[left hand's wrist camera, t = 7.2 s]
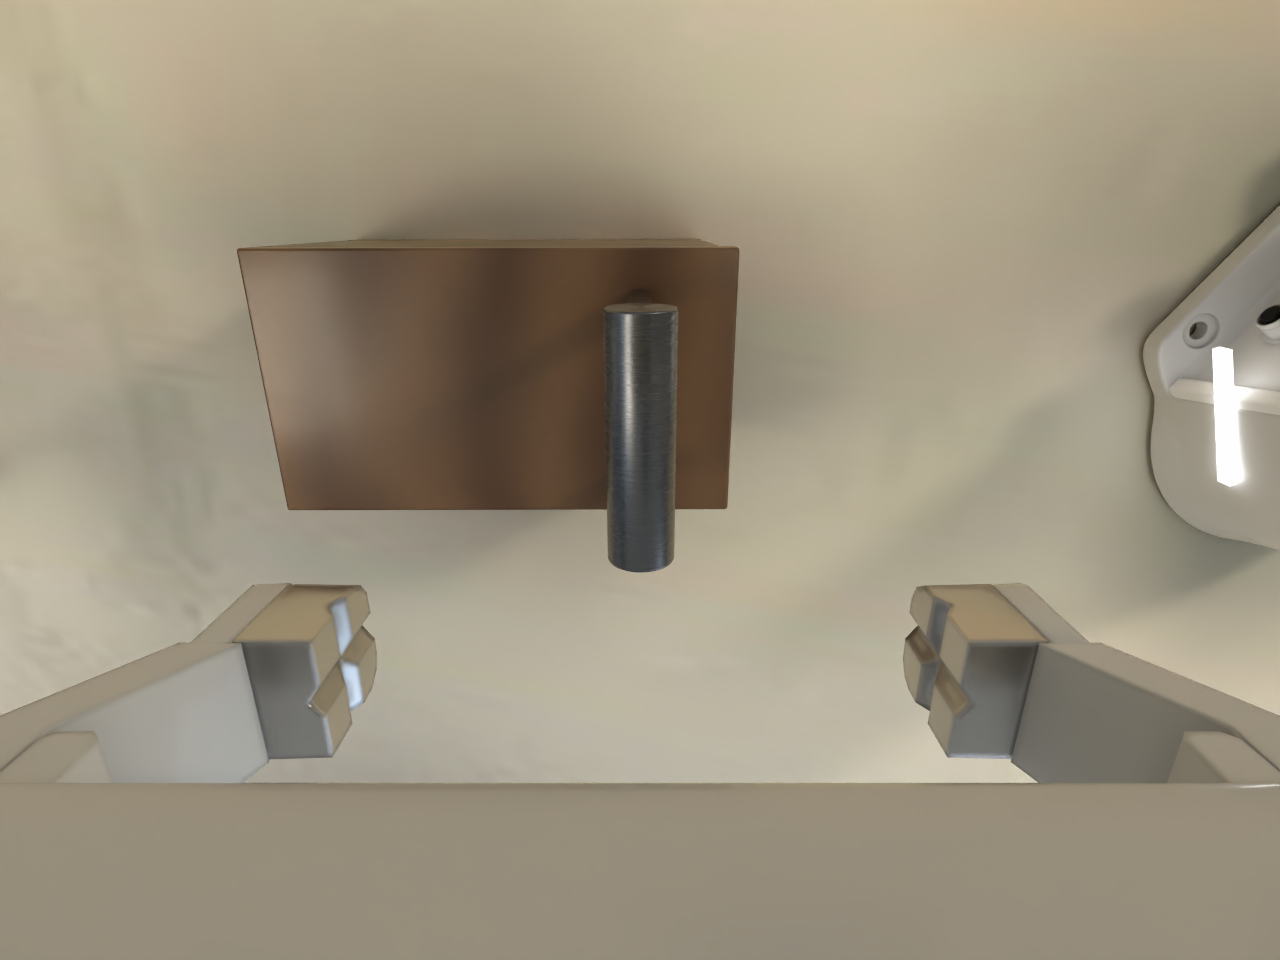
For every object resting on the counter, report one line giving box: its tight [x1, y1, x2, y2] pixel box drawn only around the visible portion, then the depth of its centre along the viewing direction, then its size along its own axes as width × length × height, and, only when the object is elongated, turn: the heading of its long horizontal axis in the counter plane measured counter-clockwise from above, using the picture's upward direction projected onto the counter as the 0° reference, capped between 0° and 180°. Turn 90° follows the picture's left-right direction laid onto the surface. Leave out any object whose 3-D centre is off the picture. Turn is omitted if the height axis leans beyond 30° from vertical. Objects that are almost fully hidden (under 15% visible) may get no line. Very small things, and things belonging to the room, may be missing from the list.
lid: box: [237, 246, 739, 572], centre depth 22 cm, size 17×10×9 cm, turn 90°
